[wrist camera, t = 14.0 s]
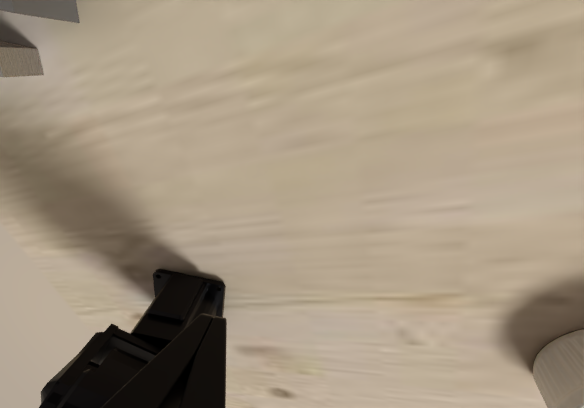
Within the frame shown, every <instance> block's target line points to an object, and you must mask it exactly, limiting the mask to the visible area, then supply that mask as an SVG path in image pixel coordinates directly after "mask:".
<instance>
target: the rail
mask: <svg viewBox="0 0 584 408" xmlns="http://www.w3.org/2000/svg"><path fill="white" fill-rule="evenodd" d="M37 75H44V74H43V70H42V66H41V62H40V58H39V54H38V49H36V48H31V47H26V46H22V45H17V44H12V43H7V42H2V41H0V77H18V76H37Z"/></svg>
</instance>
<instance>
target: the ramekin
mask: <svg viewBox="0 0 584 408" xmlns="http://www.w3.org/2000/svg"><path fill="white" fill-rule="evenodd" d="M533 377H534V380H535V382H536V384H537V386H538V388H539V390H540V393H541V395H542V397H543V399H544V401H545V403H546V405H547V407H548V408H584V329H583V330H578V331H575V332H571V333H569V334H566V335H563V336H561V337H559V338H557V339H555V340H554V341H552V342H550V343H549V344H547V345H546V346H545V347H544V348H543V349H542V350H541V351H540V352H539V353H538V355H537V356H536V358H535V361H534V366H533Z"/></svg>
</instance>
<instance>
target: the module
mask: <svg viewBox="0 0 584 408" xmlns="http://www.w3.org/2000/svg"><path fill="white" fill-rule="evenodd" d="M0 10H2V11H7V12H12V13H18V14H24V15H31V16H37V17H43V18H50V19H56V20H63V21H69V22H76V23H80V22H79V16H78V10H77V4H76V0H0Z"/></svg>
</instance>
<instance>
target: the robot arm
mask: <svg viewBox="0 0 584 408" xmlns="http://www.w3.org/2000/svg"><path fill="white" fill-rule="evenodd" d="M153 280H154V290H155V299H154V300H153V302H152V303H151V305H150V306H149V307H148V309H147V310H146V312H145V313H144V315H143V316H142V317H141V319H140V320H139V322H138V323H137V325H136V326H135V327H134V329H133V330H132V332H131V333H127V332H125V331H123V330H121V329H119V328H118V326H116V325H114V324H111V325H110V326H109V327H108V328H107V329H106V331H105V332H99V333H96V334H95V335H94V336H93V337H92V338H91V340H90V341H89V342H88V343H87V344H86V346H85V347H84V348H83V349H82V350H81V351H80V352H79V354H78V355H77V356H76V357H75V358H74V359H73V360H71V361H70V362H69V363H68V364H67V365H66V366H65V367H64V368H63V369H62V370H61V371H60V372H59V373H58V374H57V375H55V376H54V377H53V378H52V379H51V380H50V381H49V382H48V383H47V384H46V386H45V387H44V388H43V390H42V391H41V405H40V407H39V408H225V397H226V318H223V310H224V299H225V284H224V283H222V282H219V281H214V280H210V279H205V278H200V277H195V276H190V275H186V274H181V273H176V272H171V271H166V270H162V269H158V270H156V271H155V272H154V274H153ZM219 287H220V288H219Z"/></svg>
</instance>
